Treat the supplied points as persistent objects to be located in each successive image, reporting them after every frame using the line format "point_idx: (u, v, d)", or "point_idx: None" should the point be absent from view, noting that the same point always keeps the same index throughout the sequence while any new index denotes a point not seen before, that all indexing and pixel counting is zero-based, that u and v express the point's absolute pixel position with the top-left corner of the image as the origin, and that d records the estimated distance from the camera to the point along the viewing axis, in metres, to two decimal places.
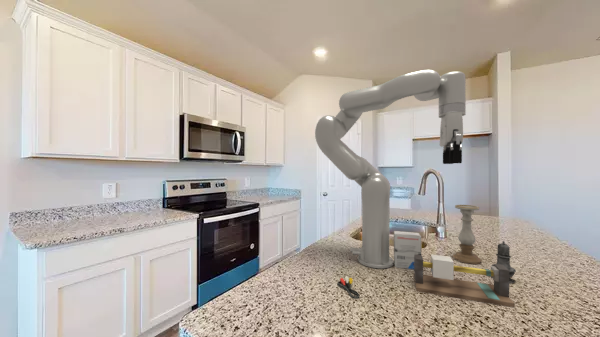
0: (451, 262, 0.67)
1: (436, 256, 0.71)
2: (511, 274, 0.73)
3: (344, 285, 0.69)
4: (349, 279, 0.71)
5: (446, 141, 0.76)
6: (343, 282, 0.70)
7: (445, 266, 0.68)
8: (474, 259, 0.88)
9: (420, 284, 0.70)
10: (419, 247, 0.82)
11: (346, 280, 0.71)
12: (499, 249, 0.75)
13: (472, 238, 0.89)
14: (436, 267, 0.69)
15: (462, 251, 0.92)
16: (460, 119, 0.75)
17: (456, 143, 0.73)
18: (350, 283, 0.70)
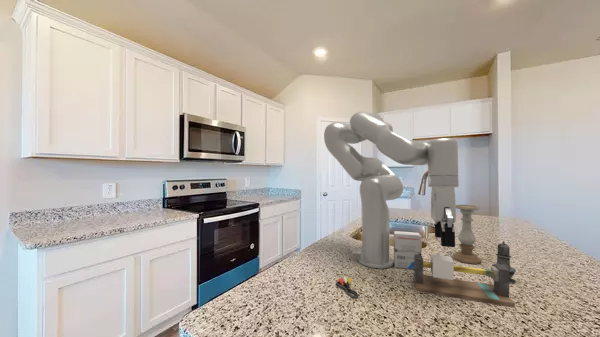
0: (451, 262, 0.67)
1: (436, 256, 0.71)
2: (511, 274, 0.73)
3: (343, 285, 0.69)
4: (347, 279, 0.71)
5: (437, 220, 0.66)
6: (342, 282, 0.70)
7: (445, 266, 0.68)
8: (474, 259, 0.88)
9: (420, 284, 0.70)
10: (419, 247, 0.82)
11: (344, 280, 0.71)
12: (499, 249, 0.75)
13: (472, 238, 0.89)
14: (436, 267, 0.69)
15: (462, 251, 0.92)
16: (452, 195, 0.65)
17: (448, 226, 0.63)
18: (349, 283, 0.70)
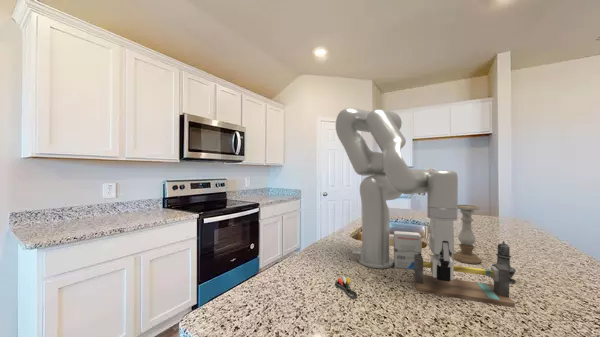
0: (451, 262, 0.67)
1: (436, 256, 0.71)
2: (511, 274, 0.73)
3: (342, 285, 0.69)
4: (347, 279, 0.71)
5: (435, 253, 0.67)
6: (341, 282, 0.70)
7: None
8: (474, 259, 0.88)
9: (420, 284, 0.70)
10: (419, 247, 0.82)
11: (344, 280, 0.71)
12: (499, 249, 0.75)
13: (472, 238, 0.89)
14: (436, 267, 0.69)
15: (462, 251, 0.92)
16: (451, 229, 0.65)
17: (443, 262, 0.65)
18: (348, 283, 0.70)
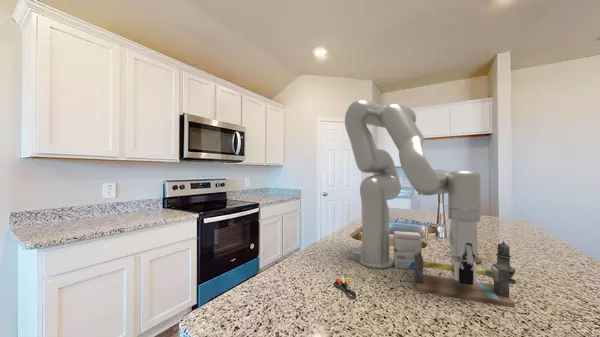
0: (474, 265, 0.65)
1: (457, 259, 0.69)
2: (511, 274, 0.73)
3: (340, 285, 0.69)
4: (345, 279, 0.71)
5: (457, 255, 0.65)
6: (339, 282, 0.70)
7: None
8: None
9: (420, 284, 0.70)
10: (419, 247, 0.82)
11: (342, 280, 0.71)
12: (499, 249, 0.75)
13: None
14: (458, 270, 0.67)
15: None
16: (474, 231, 0.63)
17: (467, 265, 0.63)
18: (346, 283, 0.70)
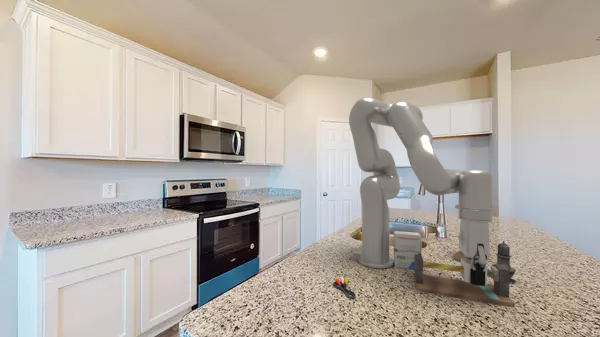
0: None
1: (467, 260, 0.68)
2: (511, 274, 0.73)
3: (340, 285, 0.69)
4: (344, 279, 0.71)
5: (468, 256, 0.64)
6: (339, 282, 0.70)
7: None
8: None
9: (420, 284, 0.70)
10: (419, 247, 0.82)
11: (342, 280, 0.70)
12: (499, 249, 0.75)
13: None
14: (468, 271, 0.66)
15: None
16: (486, 231, 0.63)
17: (479, 266, 0.62)
18: (346, 283, 0.70)
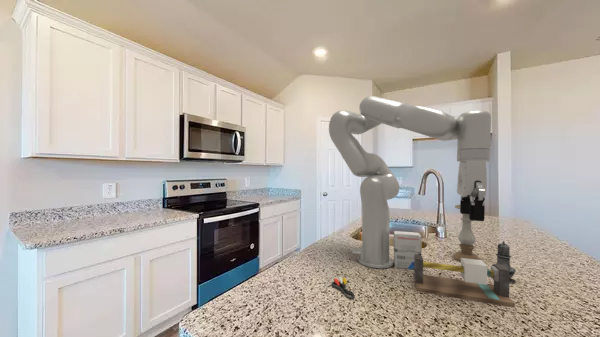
0: (484, 266, 0.65)
1: (467, 260, 0.68)
2: (511, 274, 0.73)
3: (338, 286, 0.69)
4: (343, 279, 0.71)
5: (466, 193, 0.65)
6: (337, 283, 0.70)
7: (478, 270, 0.65)
8: None
9: (420, 284, 0.70)
10: (419, 247, 0.82)
11: (340, 280, 0.70)
12: (499, 249, 0.75)
13: (472, 238, 0.89)
14: (468, 271, 0.66)
15: (462, 251, 0.92)
16: (484, 169, 0.64)
17: (478, 199, 0.61)
18: (344, 283, 0.69)
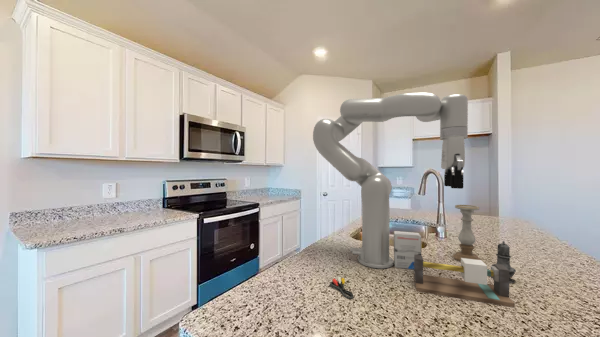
0: (484, 266, 0.65)
1: (467, 260, 0.68)
2: (511, 274, 0.73)
3: (337, 286, 0.69)
4: (341, 279, 0.71)
5: (447, 165, 0.75)
6: (336, 283, 0.70)
7: (478, 270, 0.65)
8: None
9: (420, 284, 0.70)
10: (419, 247, 0.82)
11: (339, 280, 0.70)
12: (499, 249, 0.75)
13: (472, 238, 0.89)
14: (468, 271, 0.66)
15: (462, 251, 0.92)
16: (462, 143, 0.74)
17: (457, 169, 0.72)
18: (343, 283, 0.69)
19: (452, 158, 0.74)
